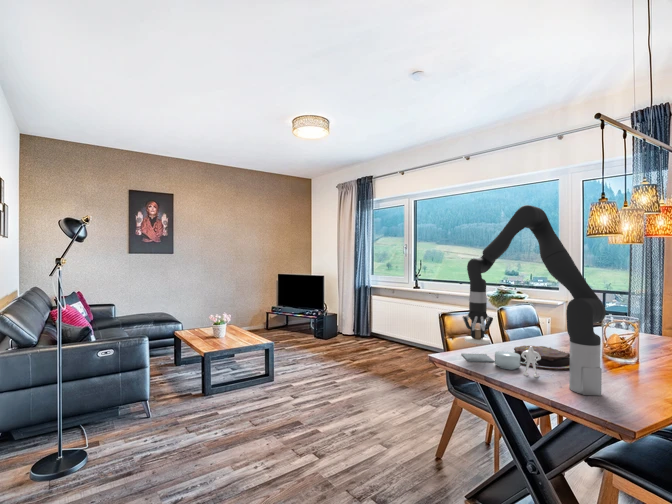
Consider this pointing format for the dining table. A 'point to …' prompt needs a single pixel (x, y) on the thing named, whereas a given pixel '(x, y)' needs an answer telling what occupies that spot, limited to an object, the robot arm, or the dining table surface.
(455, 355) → the dining table surface
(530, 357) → the figurine
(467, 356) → the mat
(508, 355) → the pale green rounded block
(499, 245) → the robot arm
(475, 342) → the cover
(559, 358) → the chocolate cake
